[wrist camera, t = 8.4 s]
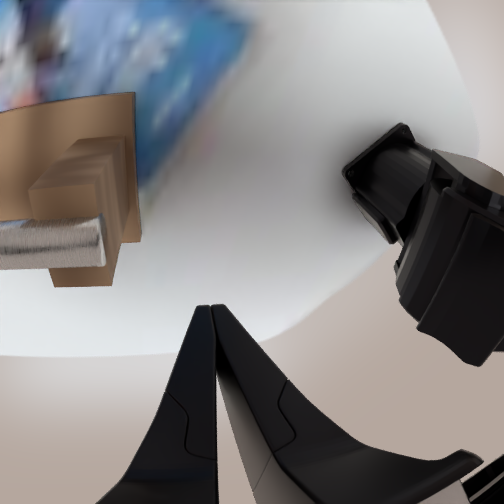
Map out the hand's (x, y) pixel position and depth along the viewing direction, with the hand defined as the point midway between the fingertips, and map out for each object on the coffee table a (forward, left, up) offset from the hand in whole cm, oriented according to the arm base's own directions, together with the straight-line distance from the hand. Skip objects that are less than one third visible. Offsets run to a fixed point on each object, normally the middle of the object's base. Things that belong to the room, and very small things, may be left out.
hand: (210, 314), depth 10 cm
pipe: (+11, -11, -6) cm, 17 cm away
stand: (+11, -11, -13) cm, 21 cm away
